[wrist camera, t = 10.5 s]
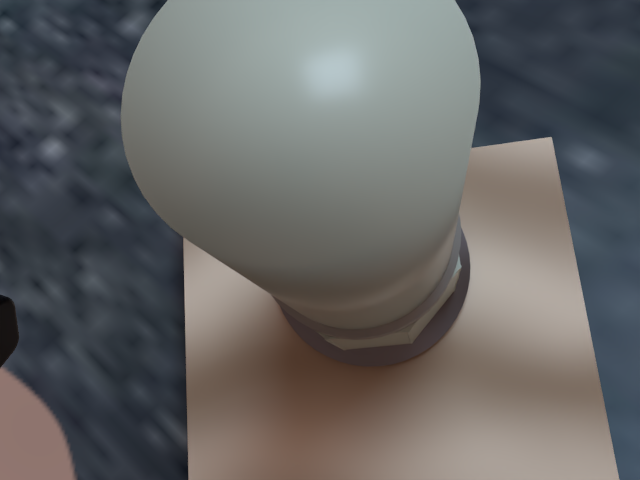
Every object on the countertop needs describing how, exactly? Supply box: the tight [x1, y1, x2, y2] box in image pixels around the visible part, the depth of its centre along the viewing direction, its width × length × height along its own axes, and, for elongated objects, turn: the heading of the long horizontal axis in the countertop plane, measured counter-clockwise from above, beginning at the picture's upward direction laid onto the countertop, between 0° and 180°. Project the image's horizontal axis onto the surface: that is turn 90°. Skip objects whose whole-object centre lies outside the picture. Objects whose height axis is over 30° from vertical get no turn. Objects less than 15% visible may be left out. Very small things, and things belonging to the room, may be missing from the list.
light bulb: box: [121, 0, 480, 350], centre depth 15 cm, size 6×6×13 cm
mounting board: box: [183, 137, 619, 480], centre depth 20 cm, size 16×14×5 cm
